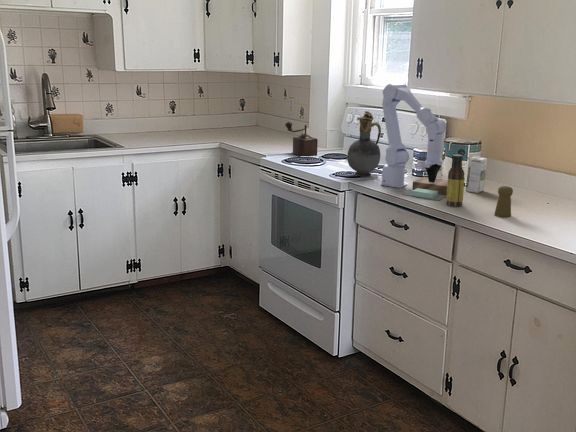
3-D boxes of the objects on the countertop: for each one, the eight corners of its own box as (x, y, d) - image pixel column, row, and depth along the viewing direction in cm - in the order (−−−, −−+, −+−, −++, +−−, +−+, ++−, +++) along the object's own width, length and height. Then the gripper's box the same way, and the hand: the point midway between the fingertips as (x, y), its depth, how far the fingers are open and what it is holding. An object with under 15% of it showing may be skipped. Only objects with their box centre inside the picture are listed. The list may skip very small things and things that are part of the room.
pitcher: (343, 175, 300) (345, 111, 292) (369, 170, 313) (372, 109, 305) (360, 179, 293) (364, 113, 285) (386, 174, 305) (390, 111, 297)
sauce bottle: (458, 202, 254) (462, 153, 248) (465, 206, 248) (470, 156, 242) (442, 203, 252) (447, 153, 247) (449, 207, 246) (454, 156, 241)
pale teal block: (417, 188, 267) (417, 192, 268) (411, 190, 262) (411, 195, 263) (438, 191, 263) (437, 195, 263) (432, 193, 258) (432, 198, 258)
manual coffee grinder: (307, 152, 360) (308, 120, 355) (317, 155, 351) (318, 122, 346) (283, 154, 353) (283, 121, 348) (292, 157, 344) (293, 124, 339)
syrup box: (471, 189, 278) (474, 156, 274) (484, 191, 274) (487, 157, 270) (465, 191, 274) (468, 157, 270) (478, 193, 270) (482, 159, 266)
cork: (491, 215, 236) (494, 186, 233) (499, 212, 240) (502, 184, 237) (506, 218, 232) (509, 189, 229) (514, 215, 236) (517, 186, 233)
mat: (402, 194, 265) (402, 194, 265) (410, 190, 273) (410, 190, 272) (438, 200, 257) (438, 199, 257) (446, 196, 264) (446, 195, 264)
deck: (412, 190, 273) (412, 181, 272) (422, 185, 282) (423, 176, 281) (446, 195, 265) (446, 186, 264) (455, 190, 274) (456, 181, 273)
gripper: (437, 153, 256) (434, 186, 260) (449, 148, 268) (447, 180, 272) (420, 151, 260) (418, 184, 264) (433, 147, 272) (431, 178, 275)
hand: (431, 182), depth 268 cm, fingers closed
